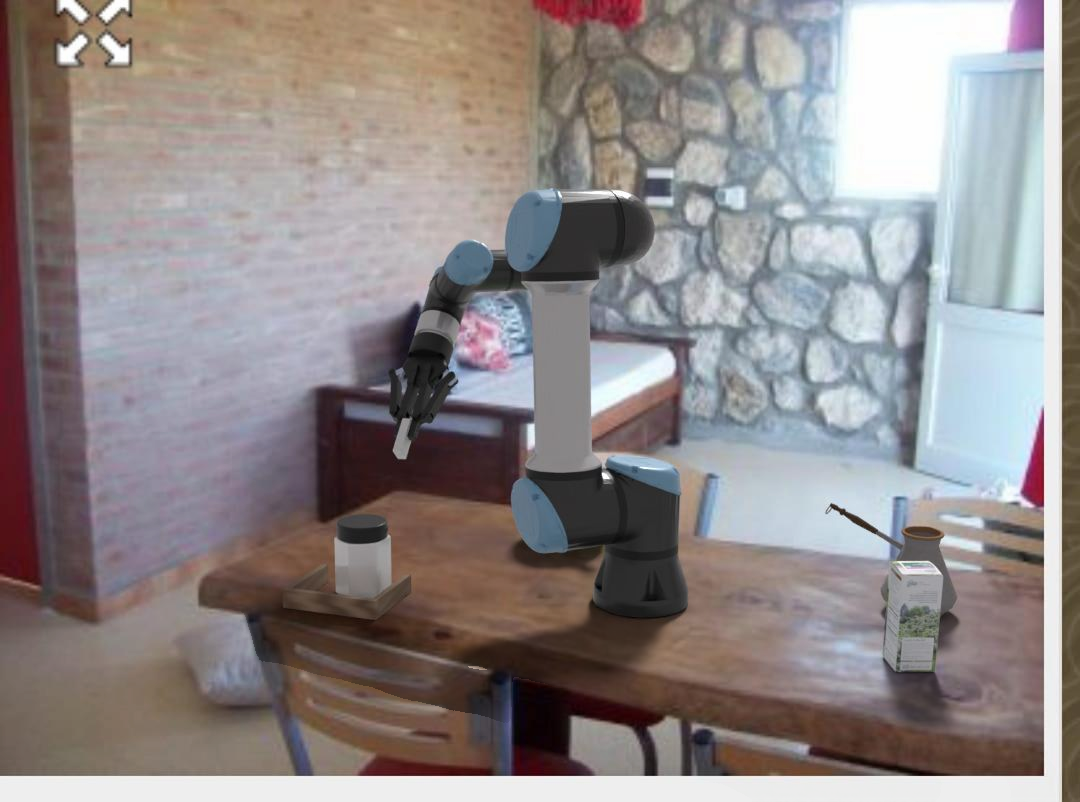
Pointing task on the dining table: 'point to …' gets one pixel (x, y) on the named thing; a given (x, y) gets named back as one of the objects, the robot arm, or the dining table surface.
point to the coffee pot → (914, 552)
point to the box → (341, 597)
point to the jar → (362, 555)
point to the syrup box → (912, 616)
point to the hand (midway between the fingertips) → (399, 455)
